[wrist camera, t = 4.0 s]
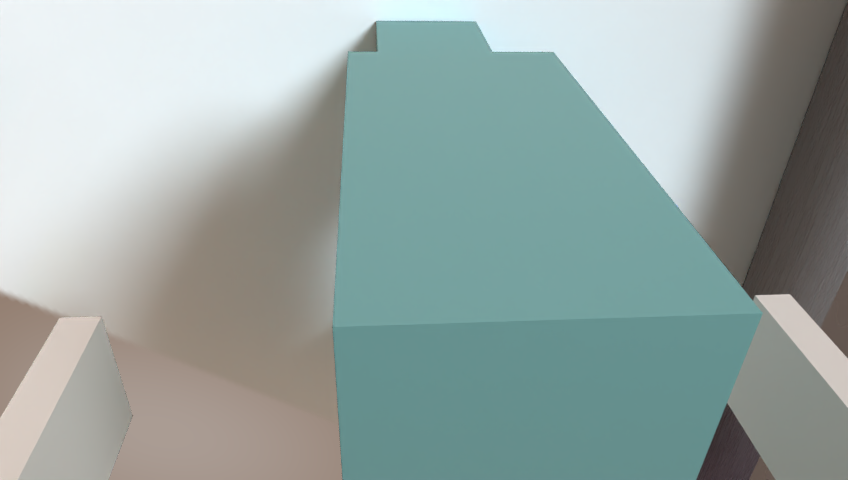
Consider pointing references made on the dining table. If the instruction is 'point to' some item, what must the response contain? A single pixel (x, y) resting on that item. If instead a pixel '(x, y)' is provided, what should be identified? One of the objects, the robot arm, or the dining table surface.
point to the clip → (515, 278)
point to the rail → (801, 245)
